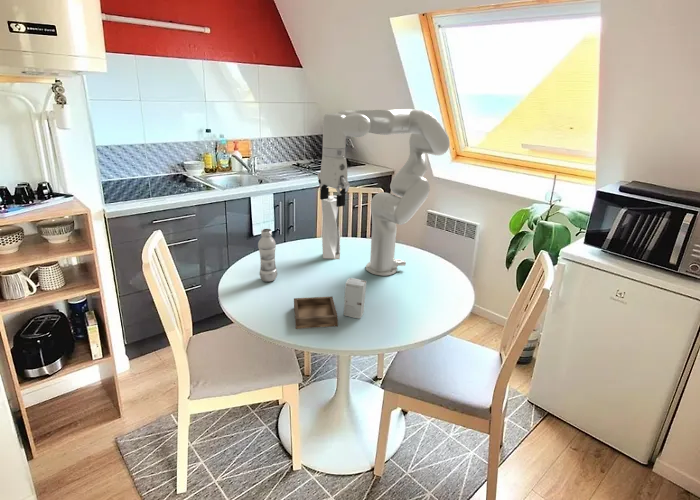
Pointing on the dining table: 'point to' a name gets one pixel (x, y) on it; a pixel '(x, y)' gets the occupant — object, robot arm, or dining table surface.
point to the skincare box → (354, 298)
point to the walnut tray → (315, 312)
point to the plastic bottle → (267, 256)
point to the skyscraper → (330, 229)
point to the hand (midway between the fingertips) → (332, 202)
